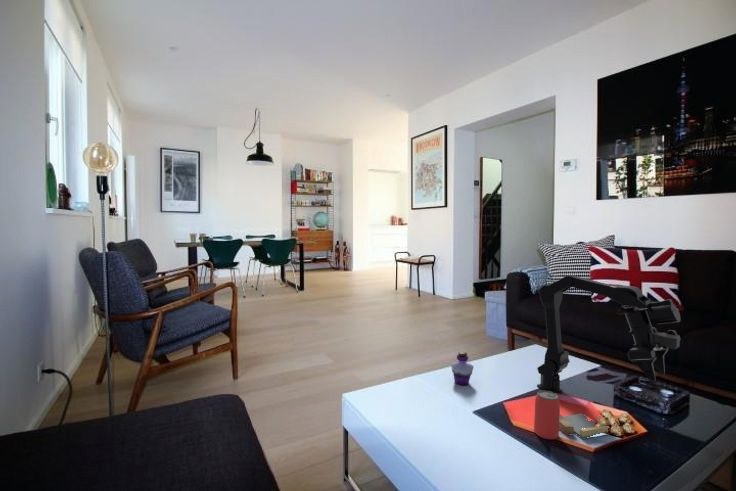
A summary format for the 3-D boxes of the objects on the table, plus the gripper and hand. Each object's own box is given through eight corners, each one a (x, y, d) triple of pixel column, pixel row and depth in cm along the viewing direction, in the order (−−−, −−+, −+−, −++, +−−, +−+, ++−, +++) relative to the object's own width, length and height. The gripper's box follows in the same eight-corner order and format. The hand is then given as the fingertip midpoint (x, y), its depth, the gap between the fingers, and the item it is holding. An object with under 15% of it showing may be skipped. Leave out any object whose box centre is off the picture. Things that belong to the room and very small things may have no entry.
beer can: (561, 442, 106) (563, 400, 105) (536, 439, 107) (538, 398, 106) (554, 429, 112) (556, 390, 111) (531, 427, 113) (533, 388, 113)
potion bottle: (472, 379, 148) (473, 349, 147) (474, 388, 140) (475, 357, 139) (450, 377, 150) (450, 348, 149) (450, 386, 141) (451, 355, 140)
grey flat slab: (554, 419, 118) (554, 412, 118) (583, 415, 120) (583, 408, 120) (582, 439, 107) (582, 431, 107) (613, 434, 110) (613, 426, 110)
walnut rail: (543, 414, 121) (543, 406, 121) (550, 414, 121) (551, 406, 121) (565, 435, 109) (565, 426, 109) (573, 434, 109) (573, 426, 109)
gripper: (662, 327, 105) (682, 385, 102) (679, 318, 117) (698, 369, 113) (618, 332, 114) (636, 385, 110) (639, 323, 125) (655, 370, 122)
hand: (658, 377), depth 114 cm, fingers open, 9 cm apart
